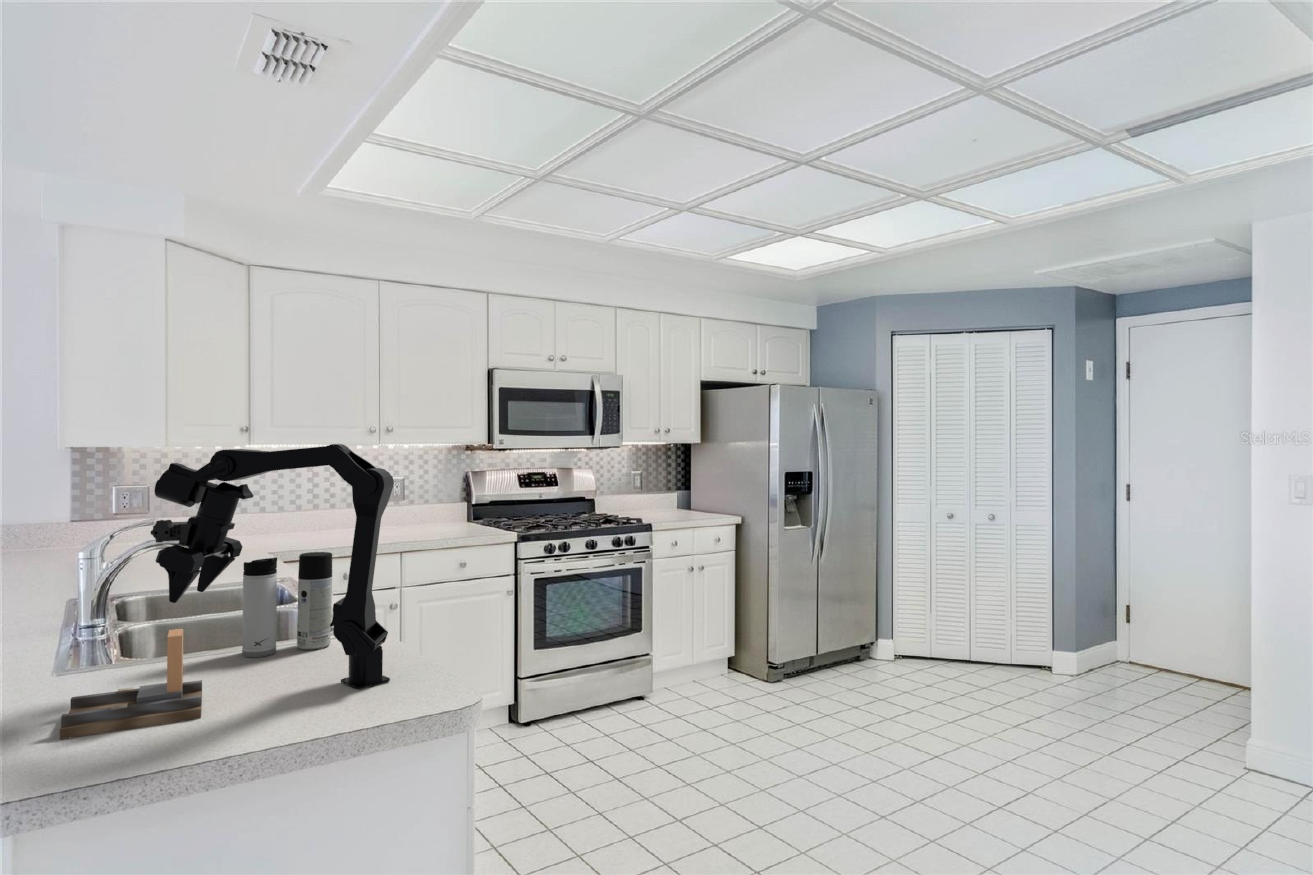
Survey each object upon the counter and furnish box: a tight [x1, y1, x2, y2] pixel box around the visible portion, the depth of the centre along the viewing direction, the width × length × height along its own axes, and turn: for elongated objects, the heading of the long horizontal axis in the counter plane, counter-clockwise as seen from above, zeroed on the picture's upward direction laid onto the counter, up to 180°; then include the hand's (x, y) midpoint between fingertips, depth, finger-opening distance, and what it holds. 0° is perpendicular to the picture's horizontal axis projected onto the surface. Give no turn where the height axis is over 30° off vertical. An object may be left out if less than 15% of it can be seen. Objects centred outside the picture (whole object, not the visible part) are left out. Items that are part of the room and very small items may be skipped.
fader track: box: [59, 679, 203, 740], centre depth 122 cm, size 18×12×3 cm, turn 120°
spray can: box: [296, 551, 333, 651], centre depth 162 cm, size 7×7×20 cm
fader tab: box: [136, 628, 184, 704], centre depth 123 cm, size 6×6×11 cm
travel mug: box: [241, 556, 278, 659], centre depth 157 cm, size 6×7×20 cm
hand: (186, 596), depth 137 cm, fingers open, 9 cm apart
